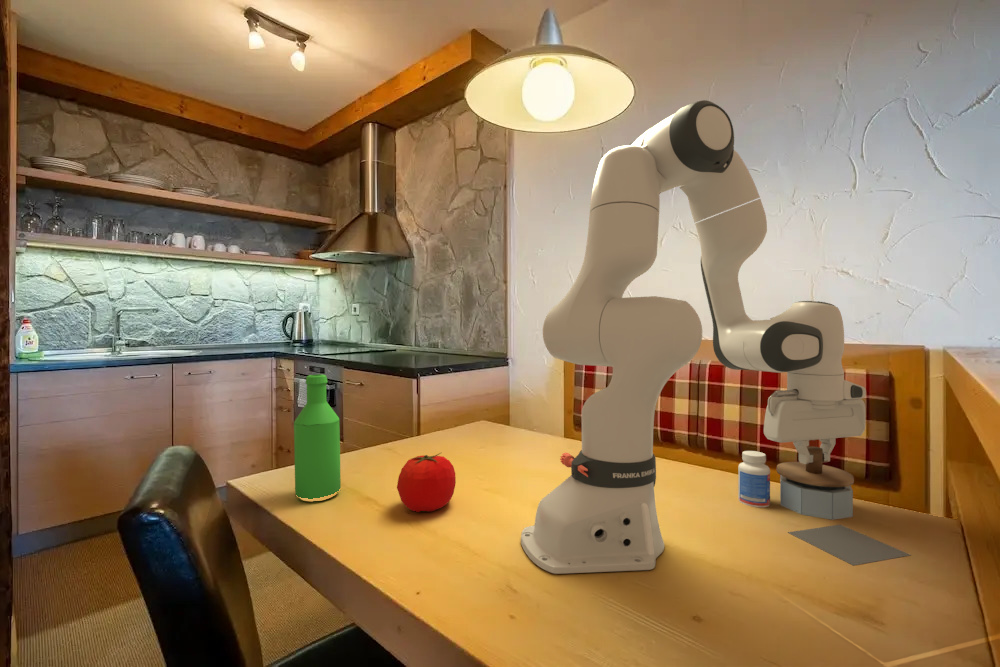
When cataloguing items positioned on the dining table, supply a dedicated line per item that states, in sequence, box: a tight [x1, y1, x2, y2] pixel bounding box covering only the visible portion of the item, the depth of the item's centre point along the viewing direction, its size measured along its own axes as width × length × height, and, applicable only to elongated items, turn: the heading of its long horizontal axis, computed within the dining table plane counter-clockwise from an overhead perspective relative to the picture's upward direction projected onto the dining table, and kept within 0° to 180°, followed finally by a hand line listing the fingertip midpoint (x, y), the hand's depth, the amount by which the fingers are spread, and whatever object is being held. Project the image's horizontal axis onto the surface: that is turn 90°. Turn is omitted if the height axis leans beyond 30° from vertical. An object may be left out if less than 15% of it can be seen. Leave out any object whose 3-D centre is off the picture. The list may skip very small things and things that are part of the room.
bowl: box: [779, 474, 854, 521], centre depth 88 cm, size 11×11×5 cm
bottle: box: [293, 373, 342, 499], centre depth 97 cm, size 9×9×25 cm
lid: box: [776, 445, 855, 487], centre depth 88 cm, size 12×12×5 cm
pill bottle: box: [737, 450, 771, 508], centre depth 90 cm, size 6×5×10 cm
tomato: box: [396, 452, 456, 513], centre depth 91 cm, size 11×13×10 cm
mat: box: [787, 524, 912, 566], centre depth 73 cm, size 11×11×1 cm
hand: (814, 462), depth 88 cm, fingers closed on lid, 2 cm apart
